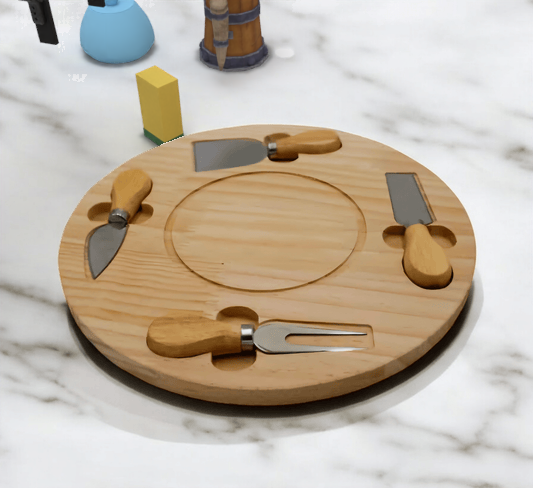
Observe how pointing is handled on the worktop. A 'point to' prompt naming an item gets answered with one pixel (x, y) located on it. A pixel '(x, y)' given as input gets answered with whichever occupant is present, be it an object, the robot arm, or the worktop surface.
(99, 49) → the sugar bowl
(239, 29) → the mug
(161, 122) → the sponge
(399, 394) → the worktop surface
